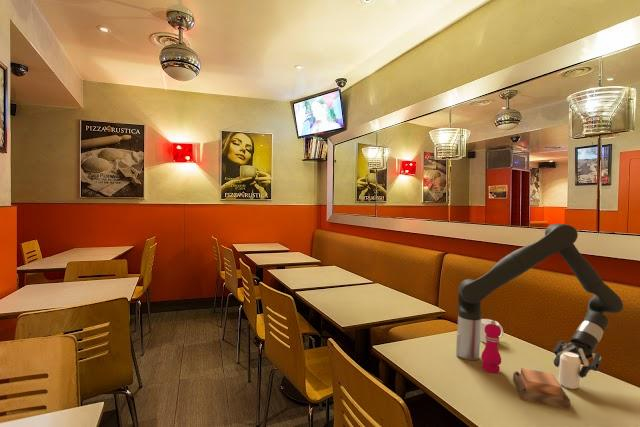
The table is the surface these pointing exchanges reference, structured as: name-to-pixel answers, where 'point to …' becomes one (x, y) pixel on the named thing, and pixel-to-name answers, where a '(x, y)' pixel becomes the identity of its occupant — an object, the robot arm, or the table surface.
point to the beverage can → (569, 370)
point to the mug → (482, 332)
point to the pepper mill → (491, 349)
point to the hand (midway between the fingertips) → (567, 370)
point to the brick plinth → (540, 395)
